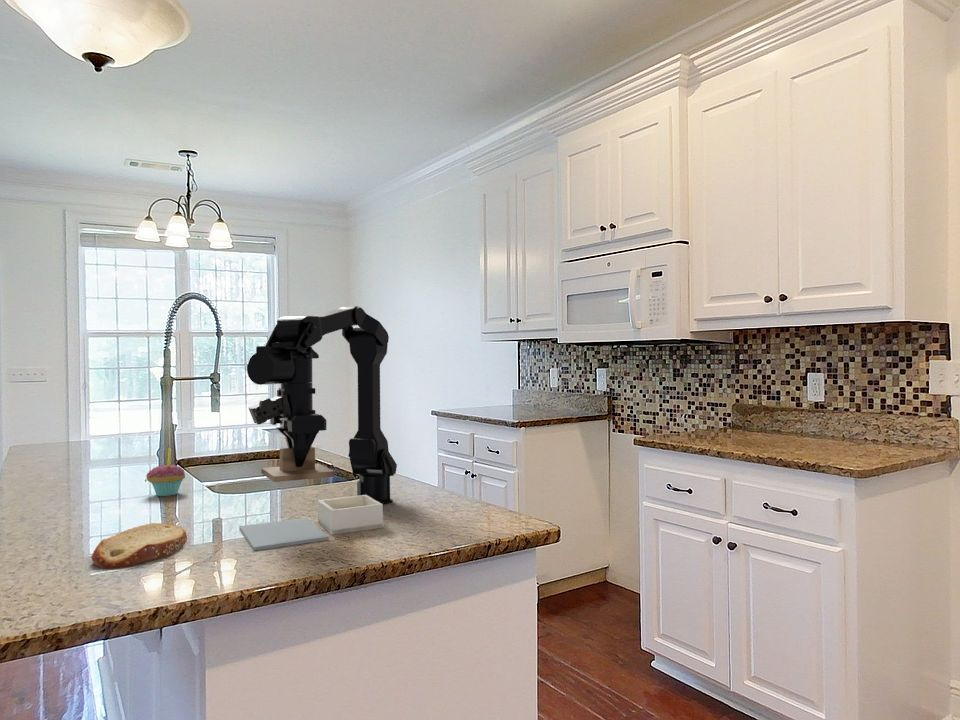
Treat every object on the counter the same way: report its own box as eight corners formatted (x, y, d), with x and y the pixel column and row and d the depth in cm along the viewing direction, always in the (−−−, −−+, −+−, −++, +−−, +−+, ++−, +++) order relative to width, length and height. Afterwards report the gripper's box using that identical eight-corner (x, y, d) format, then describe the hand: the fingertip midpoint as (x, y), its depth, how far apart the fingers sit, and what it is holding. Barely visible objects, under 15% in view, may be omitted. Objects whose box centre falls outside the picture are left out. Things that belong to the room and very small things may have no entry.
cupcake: (193, 492, 165) (192, 443, 164) (160, 499, 157) (159, 448, 157) (172, 489, 169) (171, 441, 169) (139, 495, 162) (138, 445, 162)
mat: (306, 520, 136) (306, 517, 136) (328, 539, 122) (328, 536, 122) (239, 529, 130) (239, 526, 130) (253, 550, 116) (253, 547, 116)
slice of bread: (170, 531, 131) (170, 512, 131) (215, 549, 119) (214, 527, 119) (66, 552, 118) (66, 531, 117) (104, 575, 105) (103, 551, 105)
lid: (318, 468, 134) (318, 443, 134) (334, 476, 125) (334, 449, 125) (261, 473, 129) (261, 447, 129) (273, 482, 120) (273, 453, 120)
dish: (366, 516, 139) (366, 494, 139) (383, 527, 130) (382, 504, 130) (318, 522, 134) (317, 500, 134) (331, 534, 126) (331, 510, 125)
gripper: (243, 382, 131) (243, 462, 131) (262, 385, 115) (263, 477, 115) (300, 381, 137) (301, 458, 137) (327, 384, 120) (327, 471, 120)
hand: (297, 465), depth 127 cm, fingers closed on lid, 2 cm apart
